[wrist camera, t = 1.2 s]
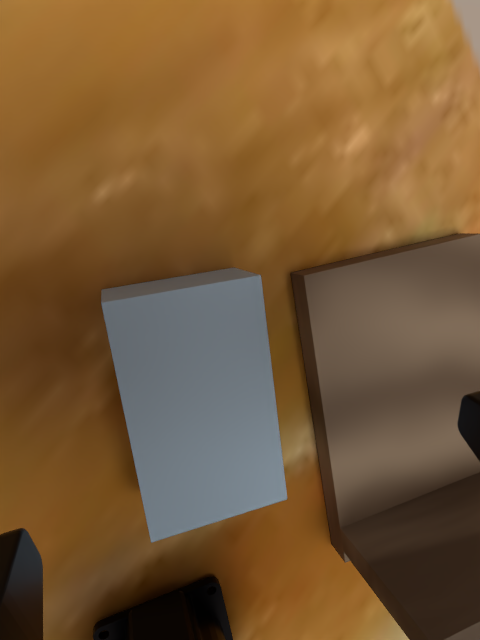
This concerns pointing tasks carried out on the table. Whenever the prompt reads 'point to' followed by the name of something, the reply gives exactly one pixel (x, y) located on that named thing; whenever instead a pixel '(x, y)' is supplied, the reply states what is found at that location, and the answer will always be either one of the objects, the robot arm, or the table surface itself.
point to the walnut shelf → (400, 424)
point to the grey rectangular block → (197, 396)
